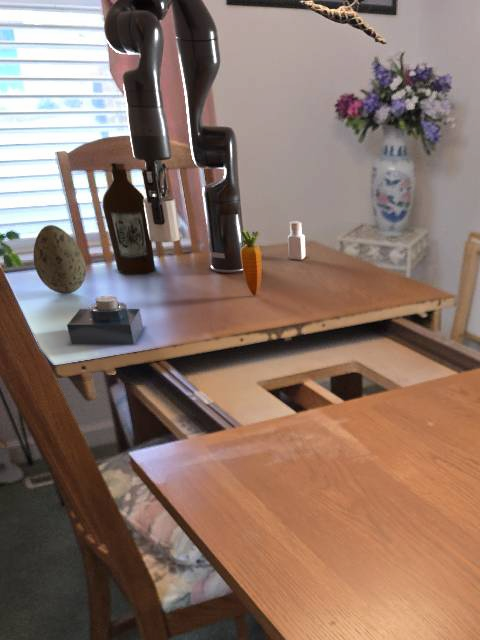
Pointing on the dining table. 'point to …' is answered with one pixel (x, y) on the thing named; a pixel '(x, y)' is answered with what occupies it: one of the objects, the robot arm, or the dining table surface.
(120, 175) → the olive oil
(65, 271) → the decorative egg
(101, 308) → the pump
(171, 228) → the cup
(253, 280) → the carrot
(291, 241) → the pepper shaker
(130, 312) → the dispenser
